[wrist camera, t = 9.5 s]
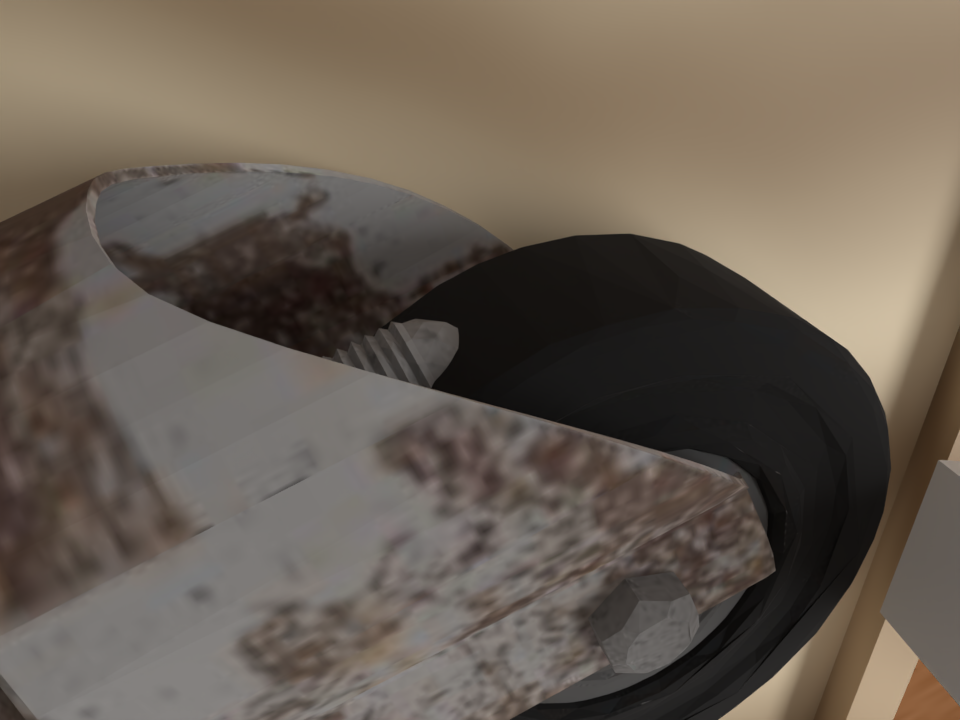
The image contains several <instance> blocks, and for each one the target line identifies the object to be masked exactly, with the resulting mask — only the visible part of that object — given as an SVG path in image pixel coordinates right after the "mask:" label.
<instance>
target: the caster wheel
mask: <svg viewBox="0 0 960 720" xmlns="http://www.w3.org/2000/svg"><path fill="white" fill-rule="evenodd" d="M890 473H891V459H890V446H889V433H888V426H887V420H886V414H885V411H884V409H883V406H882V404H881V402H880V399H879V397H878V395H877V393H876V390H875V388H874V386H873V383H872V381H871V379H870V377H869V376H868V374H867V373H866V372H865V370H864V369H863V368H862V367H861V365H860V364H859V363H858V362H857V360H856V359H855V358H854V357H853V355H852V354H851V353H850V352H849V350H848V349H846V348H845V347H843V346H842V345H841V344H839V343H838V342H836V341H835V340H833V339H832V338H831V337H829V336H828V335H826V334H825V333H823V332H822V331H820V330H819V329H818V328H816V327H815V326H813V325H812V324H810V323H809V322H808V321H806V320H805V319H803V318H802V317H800V316H799V315H798V314H796V313H795V312H793V311H792V310H790V309H789V308H788V307H786V306H785V305H783V304H782V303H780V302H779V301H778V300H776V299H775V298H773V297H772V296H770V295H769V294H768V293H766V292H765V291H763V290H762V289H760V288H759V287H758V286H756V285H755V284H753V283H752V282H750V281H749V280H747V279H746V278H745V277H743V276H741V275H739V274H738V273H736V272H734V271H733V270H731V269H729V268H727V267H726V266H724V265H722V264H721V263H719V262H717V261H715V260H714V259H712V258H710V257H709V256H707V255H705V254H703V253H700V252H698V251H696V250H694V249H691V248H689V247H687V246H685V245H682V244H680V243H675V242H670V241H665V240H660V239H655V238H650V237H645V236H640V235H635V234H630V233H629V234H601V235H575V236H570V237H566V238H561V239H556V240H552V241H547V242H543V243H538V244H534V245H529V246H525V247H521V248H518V249H516V250H513V249H512V248H511V247H509V246H508V245H507V244H505V243H504V242H503V241H501V240H500V239H498V238H497V237H495V236H494V235H493V234H491V233H490V232H488V231H487V230H486V229H484V228H483V227H481V226H480V225H479V224H477V223H475V222H473V221H472V220H470V219H468V218H466V217H464V216H463V215H461V214H459V213H457V212H455V211H453V210H452V209H450V208H448V207H446V206H444V205H442V204H440V203H437V202H435V201H433V200H430V199H428V198H426V197H423V196H421V195H419V194H417V193H414V192H412V191H410V190H407V189H404V188H400V187H397V186H394V185H391V184H387V183H384V182H381V181H378V180H375V179H371V178H367V177H362V176H357V175H352V174H347V173H342V172H337V171H332V170H326V169H317V168H309V167H300V166H292V165H283V164H258V163H199V164H179V165H162V166H148V167H137V168H126V169H120V170H115V171H110V172H105V173H103V174H101V175H99V176H97V177H95V178H93V179H90V180H88V181H86V182H84V183H82V184H80V185H78V186H76V187H74V188H72V189H69V190H67V191H65V192H63V193H61V194H59V195H57V196H55V197H53V198H51V199H48V200H46V201H44V202H42V203H40V204H38V205H36V206H34V207H32V208H29V209H27V210H25V211H23V212H21V213H19V214H17V215H15V216H13V217H11V218H8V219H6V220H4V221H2V222H0V720H719V719H720V718H721V717H723V716H724V715H726V714H727V713H728V712H730V711H731V710H732V709H734V708H735V707H736V706H738V705H739V704H740V703H741V702H743V701H744V700H745V699H746V698H748V697H749V696H750V695H751V694H753V693H754V692H755V691H756V690H758V689H759V688H760V687H761V686H763V685H764V684H765V683H766V682H768V681H769V680H770V679H771V678H773V677H774V676H775V675H776V674H777V673H778V672H779V671H780V670H781V669H782V668H783V667H784V666H785V665H786V664H787V663H788V662H789V661H790V660H791V658H792V657H793V656H794V655H795V654H796V653H797V652H798V651H799V650H800V649H801V648H802V647H803V646H804V645H805V644H806V643H807V642H808V641H809V640H810V639H811V638H812V637H813V636H814V635H815V634H816V633H817V632H818V630H819V629H820V628H821V626H822V625H823V623H824V622H825V621H826V619H827V618H828V616H829V615H830V614H831V612H832V611H833V609H834V608H835V607H836V605H837V604H838V602H839V601H840V600H841V598H842V597H843V595H844V594H845V593H846V591H847V590H848V588H849V587H850V585H851V584H852V582H853V580H854V579H855V577H856V575H857V573H858V571H859V569H860V567H861V565H862V563H863V561H864V559H865V557H866V555H867V553H868V551H869V549H870V547H871V545H872V543H873V541H874V538H875V535H876V532H877V529H878V527H879V524H880V521H881V518H882V515H883V512H884V507H885V502H886V496H887V490H888V484H889V478H890Z"/></svg>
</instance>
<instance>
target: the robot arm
mask: <svg viewBox="0 0 960 720" xmlns="http://www.w3.org/2000/svg"><path fill="white" fill-rule="evenodd" d="M880 613H881V614H882V615H883V617H884V618H885V619H886V620H887V621H888V622H889V624H890V625H891V626H892V627H893V628H894V629H895V631H896V632H897V633H898V634H899V635H900V637H901V638H902V639H903V640H904V641H905V642H906V644H907V645H908V646H909V647H910V648H911V649H912V651H913V652H914V653H915V654H916V655H917V657H918V658H919V659H920V660H921V661H922V662H923V664H924V665H925V666H926V667H927V668H928V669H929V671H930V672H931V673H932V674H933V675H934V677H935V678H936V679H937V680H938V681H939V682H940V684H941V685H942V686H943V687H944V688H945V689H946V691H947V692H948V693H949V694H950V695H951V696H952V698H953V699H954V700H955V701H956V702H957V704H958V705H959V706H960V461H948V460H938V462H937V465H936V467H935V470H934V473H933V475H932V478H931V480H930V483H929V486H928V488H927V491H926V493H925V496H924V498H923V501H922V504H921V506H920V509H919V511H918V514H917V517H916V519H915V522H914V524H913V527H912V530H911V532H910V535H909V537H908V540H907V542H906V545H905V548H904V550H903V553H902V555H901V558H900V561H899V563H898V566H897V568H896V571H895V574H894V576H893V579H892V581H891V584H890V586H889V589H888V592H887V594H886V597H885V599H884V602H883V605H882V607H881V610H880Z"/></svg>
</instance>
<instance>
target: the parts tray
mask: <svg viewBox="0 0 960 720" xmlns="http://www.w3.org/2000/svg"><path fill="white" fill-rule="evenodd" d="M199 163H258V164H283V165H292V166H300V167H309V168H317V169H326V170H332V171H337V172H342V173H347V174H352V175H357V176H362V177H367V178H371V179H375V180H378V181H381V182H384V183H387V184H391V185H394V186H397V187H400V188H404V189H407V190H410V191H412V192H414V193H417V194H419V195H421V196H423V197H426V198H428V199H430V200H433V201H435V202H437V203H440V204H442V205H444V206H446V207H448V208H450V209H452V210H453V211H455V212H457V213H459V214H461V215H463V216H464V217H466V218H468V219H470V220H472V221H473V222H475V223H477V224H479V225H480V226H481V227H483V228H484V229H486V230H487V231H488V232H490V233H491V234H493V235H494V236H495V237H497V238H498V239H500V240H501V241H503V242H504V243H505V244H507V245H508V246H509V247H511V248H512V249H513V250H516V249H518V248H521V247H525V246H529V245H534V244H538V243H543V242H547V241H552V240H556V239H561V238H566V237H570V236H575V235H601V234H629V233H630V234H635V235H640V236H645V237H650V238H655V239H660V240H665V241H670V242H675V243H680V244H682V245H685V246H687V247H689V248H691V249H694V250H696V251H698V252H700V253H703V254H705V255H707V256H709V257H710V258H712V259H714V260H715V261H717V262H719V263H721V264H722V265H724V266H726V267H727V268H729V269H731V270H733V271H734V272H736V273H738V274H739V275H741V276H743V277H745V278H746V279H747V280H749V281H750V282H752V283H753V284H755V285H756V286H758V287H759V288H760V289H762V290H763V291H765V292H766V293H768V294H769V295H770V296H772V297H773V298H775V299H776V300H778V301H779V302H780V303H782V304H783V305H785V306H786V307H788V308H789V309H790V310H792V311H793V312H795V313H796V314H798V315H799V316H800V317H802V318H803V319H805V320H806V321H808V322H809V323H810V324H812V325H813V326H815V327H816V328H818V329H819V330H820V331H822V332H823V333H825V334H826V335H828V336H829V337H831V338H832V339H833V340H835V341H836V342H838V343H839V344H841V345H842V346H843V347H845V348H846V349H848V350H849V352H850V353H851V354H852V355H853V357H854V358H855V359H856V360H857V362H858V363H859V364H860V365H861V367H862V368H863V369H864V370H865V372H866V373H867V374H868V376H869V377H870V379H871V381H872V383H873V386H874V388H875V390H876V393H877V395H878V397H879V399H880V402H881V404H882V406H883V409H884V411H885V414H886V420H887V426H888V433H889V446H890V459H891V473H890V478H889V484H888V490H887V496H886V502H885V507H884V512H883V515H882V518H881V521H880V524H879V527H878V529H877V532H876V535H875V538H874V541H873V543H872V545H871V547H870V549H869V551H868V553H867V555H866V557H865V559H864V561H863V563H862V565H861V567H860V569H859V571H858V573H857V575H856V577H855V579H854V580H853V582H852V584H851V585H850V587H849V588H848V590H847V591H846V593H845V594H844V595H843V597H842V598H841V600H840V601H839V602H838V604H837V605H836V607H835V608H834V609H833V611H832V612H831V614H830V615H829V616H828V618H827V619H826V621H825V622H824V623H823V625H822V626H821V628H820V629H819V630H818V632H817V633H816V634H815V635H814V636H813V637H812V638H811V639H810V640H809V641H808V642H807V643H806V644H805V645H804V646H803V647H802V648H801V649H800V650H799V651H798V652H797V653H796V654H795V655H794V656H793V657H792V658H791V660H790V661H789V662H788V663H787V664H786V665H785V666H784V667H783V668H782V669H781V670H780V671H779V672H778V673H777V674H776V675H775V676H774V677H773V678H771V679H770V680H769V681H768V682H766V683H765V684H764V685H763V686H761V687H760V688H759V689H758V690H756V691H755V692H754V693H753V694H751V695H750V696H749V697H748V698H746V699H745V700H744V701H743V702H741V703H740V704H739V705H738V706H736V707H735V708H734V709H732V710H731V711H730V712H728V713H727V714H726V715H724V716H723V717H721V718H720V719H719V720H893V719H894V716H895V714H896V712H897V709H898V707H899V704H900V702H901V700H902V697H903V695H904V693H905V690H906V688H907V685H908V683H909V681H910V678H911V676H912V673H913V671H914V669H915V666H916V664H917V662H918V659H919V658H918V657H917V655H916V654H915V653H914V652H913V651H912V649H911V648H910V647H909V646H908V645H907V644H906V642H905V641H904V640H903V639H902V638H901V637H900V635H899V634H898V633H897V632H896V631H895V629H894V628H893V627H892V626H891V625H890V624H889V622H888V621H887V620H886V619H885V618H884V617H883V615H882V614H881V613H880V610H881V607H882V605H883V602H884V599H885V597H886V594H887V592H888V589H889V586H890V584H891V581H892V579H893V576H894V574H895V571H896V568H897V566H898V563H899V561H900V558H901V555H902V553H903V550H904V548H905V545H906V542H907V540H908V537H909V535H910V532H911V530H912V527H913V524H914V522H915V519H916V517H917V514H918V511H919V509H920V506H921V504H922V501H923V498H924V496H925V493H926V491H927V488H928V486H929V483H930V480H931V478H932V475H933V473H934V470H935V467H936V465H937V462H938V460H948V461H960V0H0V222H2V221H4V220H6V219H8V218H11V217H13V216H15V215H17V214H19V213H21V212H23V211H25V210H27V209H29V208H32V207H34V206H36V205H38V204H40V203H42V202H44V201H46V200H48V199H51V198H53V197H55V196H57V195H59V194H61V193H63V192H65V191H67V190H69V189H72V188H74V187H76V186H78V185H80V184H82V183H84V182H86V181H88V180H90V179H93V178H95V177H97V176H99V175H101V174H103V173H105V172H110V171H115V170H120V169H126V168H137V167H148V166H162V165H179V164H199Z"/></svg>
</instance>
